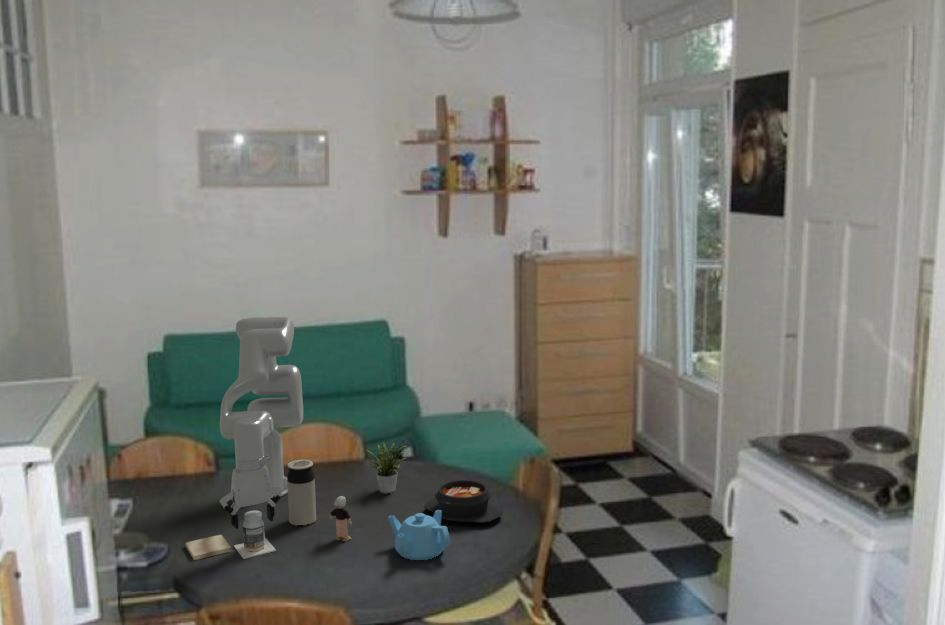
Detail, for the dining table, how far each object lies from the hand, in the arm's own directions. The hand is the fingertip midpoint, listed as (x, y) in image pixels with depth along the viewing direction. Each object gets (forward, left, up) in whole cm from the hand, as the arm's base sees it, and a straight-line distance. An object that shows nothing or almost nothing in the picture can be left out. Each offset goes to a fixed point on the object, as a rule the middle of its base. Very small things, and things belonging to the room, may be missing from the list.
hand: (253, 523), depth 230 cm
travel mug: (-18, -11, -8) cm, 23 cm away
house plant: (-51, -19, -8) cm, 55 cm away
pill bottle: (0, 0, -8) cm, 8 cm away
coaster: (+11, -8, -8) cm, 15 cm away
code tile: (0, 0, -8) cm, 8 cm away
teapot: (-38, +25, -8) cm, 47 cm away
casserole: (-61, +10, -8) cm, 63 cm away
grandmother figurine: (-23, +6, -8) cm, 25 cm away
